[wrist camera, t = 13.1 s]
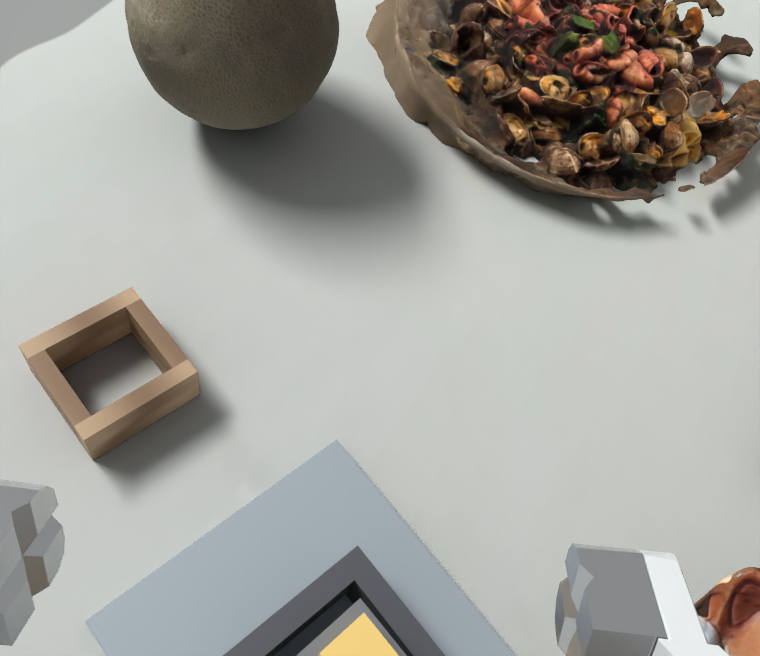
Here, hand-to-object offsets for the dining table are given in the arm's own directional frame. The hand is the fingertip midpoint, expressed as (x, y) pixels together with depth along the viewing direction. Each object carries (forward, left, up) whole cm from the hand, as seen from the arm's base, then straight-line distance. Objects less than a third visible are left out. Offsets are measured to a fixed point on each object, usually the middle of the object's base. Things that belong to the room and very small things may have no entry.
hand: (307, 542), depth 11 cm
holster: (+3, +19, -29) cm, 35 cm away
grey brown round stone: (+22, +34, -30) cm, 50 cm away
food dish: (+50, +24, -30) cm, 63 cm away
